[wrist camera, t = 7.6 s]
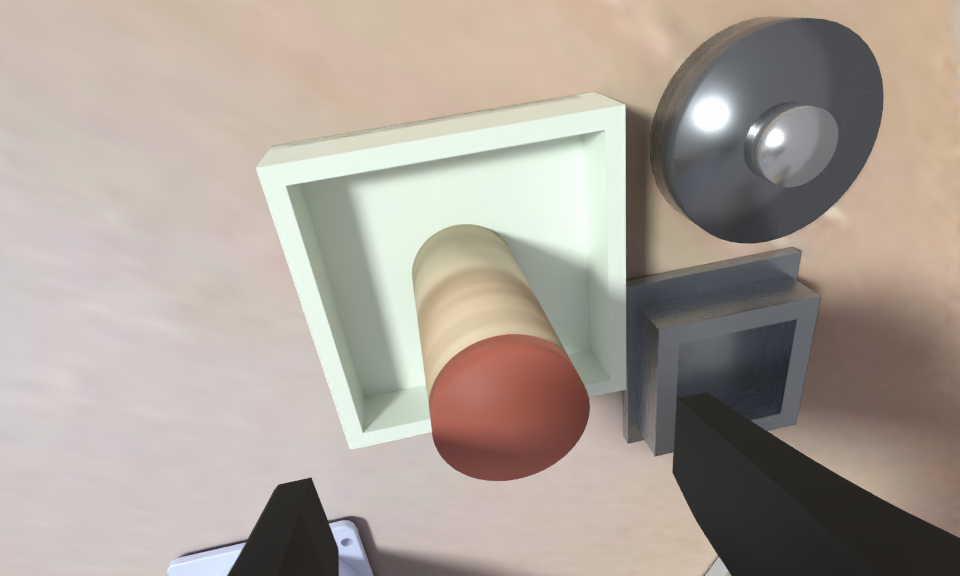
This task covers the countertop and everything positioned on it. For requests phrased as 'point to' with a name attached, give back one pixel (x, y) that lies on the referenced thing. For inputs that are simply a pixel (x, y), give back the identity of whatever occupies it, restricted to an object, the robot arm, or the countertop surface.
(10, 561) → the countertop surface
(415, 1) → the countertop surface
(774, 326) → the block
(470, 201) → the tray
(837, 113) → the grey metal round disc
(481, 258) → the pin
